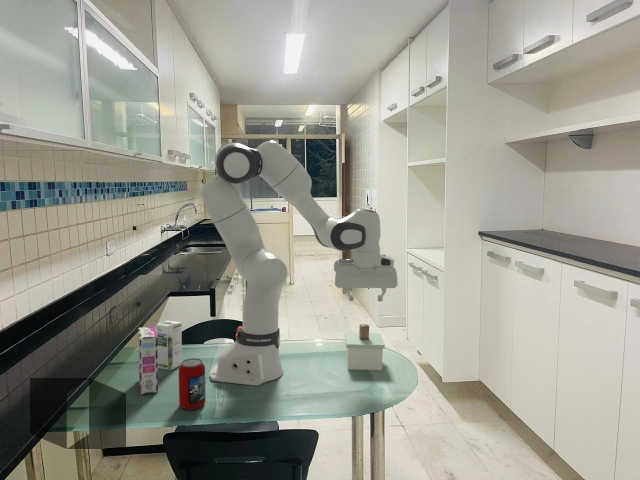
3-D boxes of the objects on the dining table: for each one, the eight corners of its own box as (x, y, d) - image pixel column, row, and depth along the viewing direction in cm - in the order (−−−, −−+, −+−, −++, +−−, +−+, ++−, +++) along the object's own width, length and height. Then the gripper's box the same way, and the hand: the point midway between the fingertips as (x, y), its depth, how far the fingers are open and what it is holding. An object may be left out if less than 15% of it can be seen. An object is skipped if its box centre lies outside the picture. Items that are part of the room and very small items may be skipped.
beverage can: (198, 412, 118) (197, 368, 116) (174, 409, 119) (173, 365, 118) (209, 400, 124) (209, 358, 123) (187, 398, 126) (186, 356, 124)
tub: (347, 371, 145) (348, 347, 145) (346, 358, 156) (346, 336, 155) (382, 372, 145) (382, 348, 144) (378, 359, 156) (378, 336, 155)
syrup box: (156, 368, 146) (155, 324, 144) (168, 361, 151) (168, 319, 150) (170, 371, 144) (169, 326, 142) (182, 364, 149) (182, 321, 148)
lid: (346, 351, 144) (346, 330, 143) (344, 339, 156) (345, 319, 155) (384, 352, 144) (385, 331, 143) (379, 339, 156) (380, 320, 155)
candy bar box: (159, 392, 129) (157, 336, 127) (140, 395, 127) (138, 338, 125) (156, 377, 139) (155, 325, 137) (138, 380, 137) (137, 327, 135)
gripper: (334, 260, 144) (333, 303, 145) (399, 260, 144) (397, 303, 145) (333, 257, 150) (333, 298, 152) (395, 257, 150) (395, 298, 151)
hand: (365, 301), depth 148 cm, fingers open, 8 cm apart
